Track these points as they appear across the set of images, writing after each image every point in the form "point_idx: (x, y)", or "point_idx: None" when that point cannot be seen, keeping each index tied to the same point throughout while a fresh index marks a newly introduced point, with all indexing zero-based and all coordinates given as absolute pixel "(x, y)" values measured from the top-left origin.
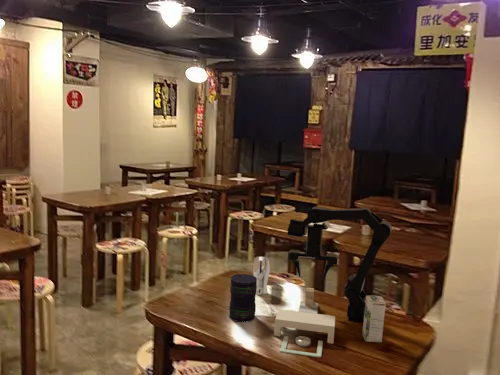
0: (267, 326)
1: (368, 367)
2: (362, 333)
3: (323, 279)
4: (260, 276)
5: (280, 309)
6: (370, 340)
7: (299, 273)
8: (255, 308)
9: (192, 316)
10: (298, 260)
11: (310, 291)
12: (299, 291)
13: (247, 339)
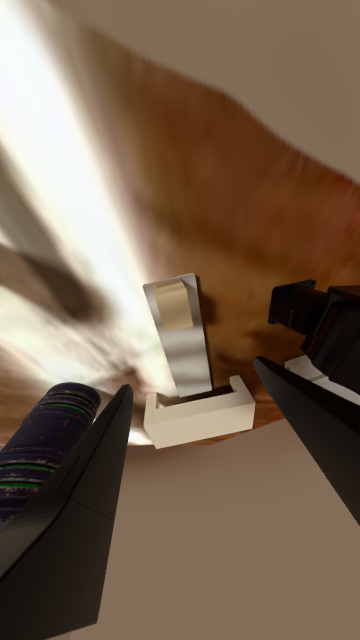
0: (134, 403)
1: (274, 419)
2: (285, 364)
3: (258, 370)
4: None
5: (147, 426)
6: None
7: (126, 424)
8: (88, 411)
9: (8, 430)
10: (61, 635)
11: (181, 328)
12: (75, 126)
13: (131, 434)
